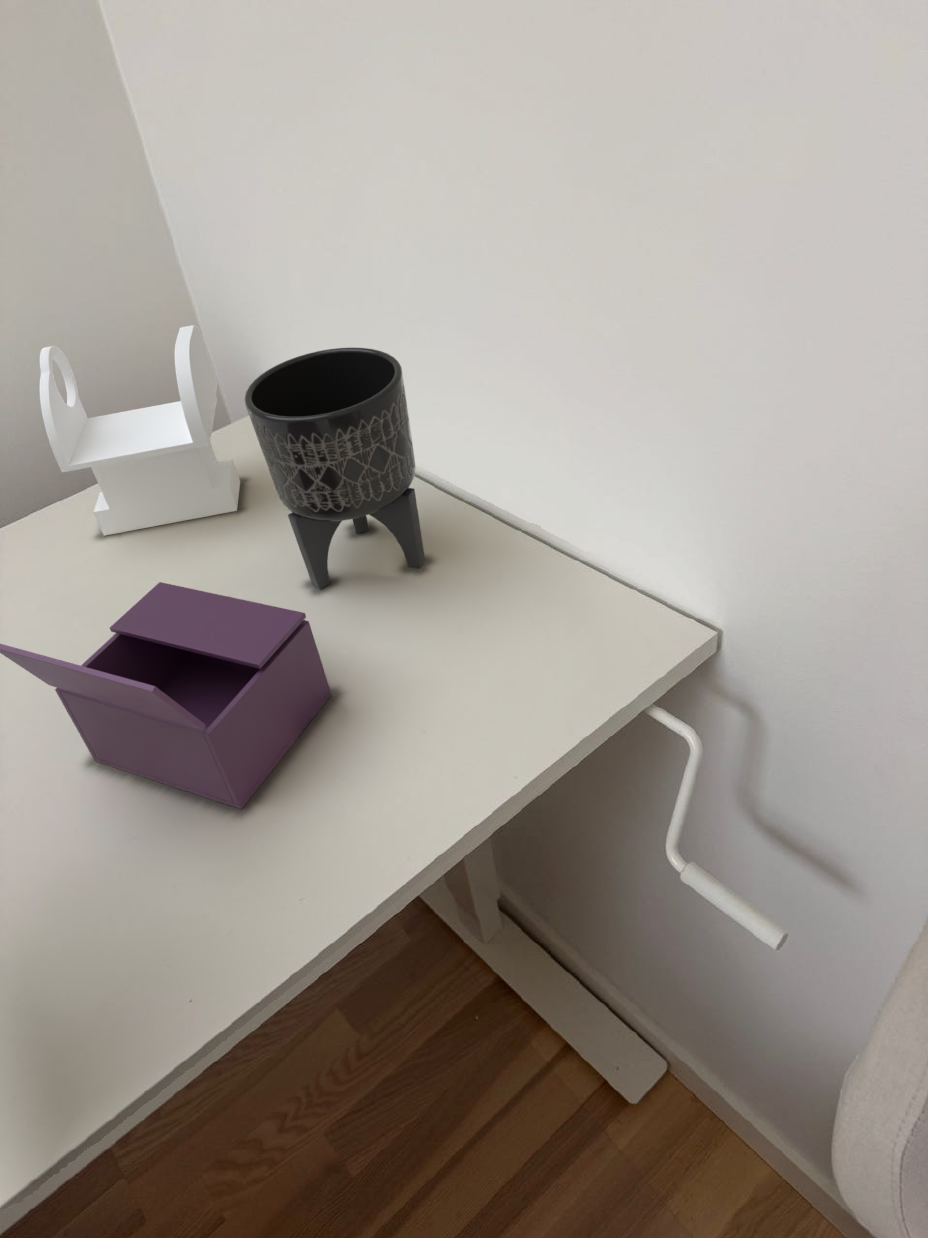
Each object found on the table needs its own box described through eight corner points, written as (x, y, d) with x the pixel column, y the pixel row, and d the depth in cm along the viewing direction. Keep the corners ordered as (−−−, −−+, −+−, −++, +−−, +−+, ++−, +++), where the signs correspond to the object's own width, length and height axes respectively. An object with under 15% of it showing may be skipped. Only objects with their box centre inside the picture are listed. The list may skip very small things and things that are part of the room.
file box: (241, 809, 66) (204, 726, 61) (94, 761, 72) (49, 681, 67) (331, 695, 74) (306, 612, 69) (192, 659, 80) (159, 581, 75)
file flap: (206, 724, 61) (203, 730, 61) (52, 680, 67) (49, 685, 67) (155, 686, 57) (152, 692, 56) (-6, 641, 62) (-9, 647, 62)
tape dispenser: (97, 550, 96) (21, 384, 85) (118, 486, 106) (52, 330, 95) (236, 524, 96) (178, 355, 85) (243, 462, 106) (192, 304, 95)
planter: (295, 535, 93) (244, 364, 82) (425, 508, 94) (392, 335, 83) (299, 614, 83) (242, 432, 72) (445, 583, 84) (410, 398, 72)
